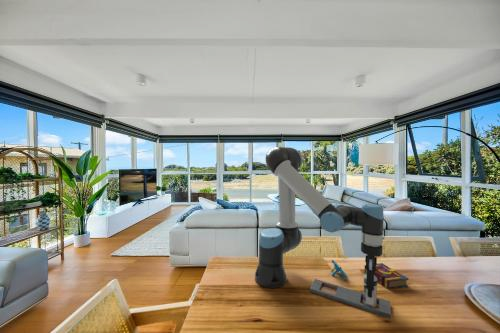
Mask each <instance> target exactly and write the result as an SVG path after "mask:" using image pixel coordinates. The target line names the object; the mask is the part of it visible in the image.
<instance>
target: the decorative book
mask: <svg viewBox="0 0 500 333" xmlns="http://www.w3.org/2000/svg"><path fill="white" fill-rule="evenodd" d="M363 273H364V274H366V273H367V269H366V264H365V265H364V272H363ZM374 275H375V276H376V278H377V283H378V284H379V285H380V286H382V287H384V288H386V289H387V290H393V289H398V288H401V289H404V288H409V285H408V284H407V281H409V277H407V276H405V275H403V274H402V273H399V272H397V270H396V269H393V268H390V267H389V266H388V265H386V264H384V263H383V262H379V263H377V264H376V271H375V272H374Z"/></svg>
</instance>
